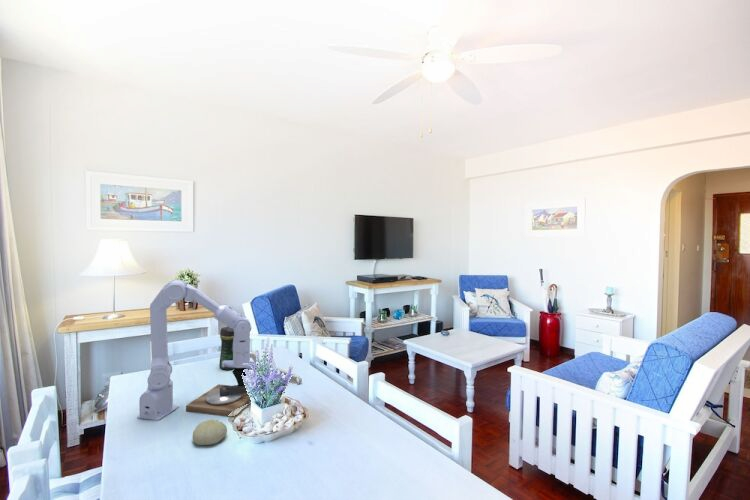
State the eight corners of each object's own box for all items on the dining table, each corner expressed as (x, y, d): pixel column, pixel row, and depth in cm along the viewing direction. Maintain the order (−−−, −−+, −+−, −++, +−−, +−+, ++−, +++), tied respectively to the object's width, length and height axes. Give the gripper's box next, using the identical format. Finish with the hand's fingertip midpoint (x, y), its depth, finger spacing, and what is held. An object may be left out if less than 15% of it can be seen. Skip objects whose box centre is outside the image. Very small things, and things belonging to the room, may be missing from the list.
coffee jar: (226, 372, 158) (226, 329, 157) (216, 367, 162) (216, 326, 162) (246, 365, 165) (246, 325, 165) (235, 362, 170) (236, 322, 169)
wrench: (298, 392, 146) (245, 369, 160) (301, 390, 147) (249, 368, 161) (300, 372, 145) (247, 351, 159) (303, 371, 146) (250, 350, 161)
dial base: (234, 417, 119) (234, 410, 118) (185, 411, 122) (185, 404, 122) (261, 394, 136) (261, 388, 136) (218, 389, 140) (218, 383, 139)
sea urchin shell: (218, 420, 113) (225, 408, 109) (225, 445, 109) (233, 434, 105) (186, 430, 106) (193, 418, 102) (192, 457, 103) (200, 446, 98)
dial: (204, 407, 120) (204, 397, 120) (206, 392, 131) (206, 383, 131) (248, 401, 125) (249, 391, 125) (247, 387, 136) (247, 378, 136)
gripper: (265, 349, 134) (264, 385, 135) (229, 346, 137) (229, 381, 137) (255, 355, 127) (255, 393, 128) (218, 351, 130) (217, 389, 130)
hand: (241, 387), depth 132 cm, fingers closed, pressing on dial
